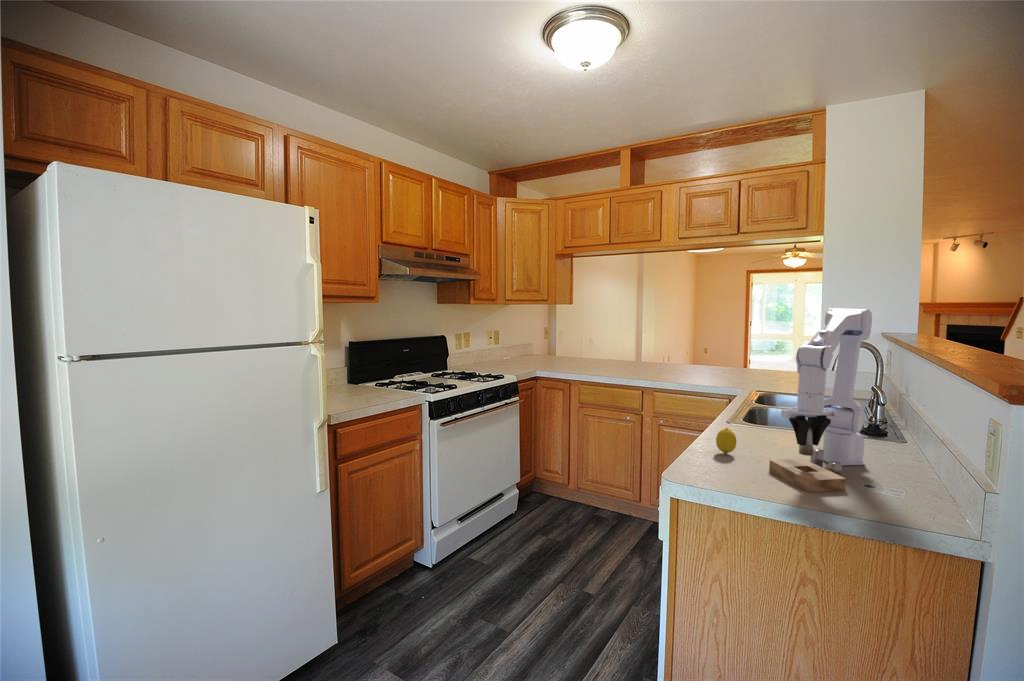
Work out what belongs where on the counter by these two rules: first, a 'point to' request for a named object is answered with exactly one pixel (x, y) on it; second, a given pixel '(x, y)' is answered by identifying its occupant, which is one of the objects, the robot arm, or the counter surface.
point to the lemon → (726, 440)
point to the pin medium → (817, 457)
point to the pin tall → (808, 443)
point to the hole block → (808, 475)
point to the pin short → (835, 467)
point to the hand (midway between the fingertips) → (807, 444)
